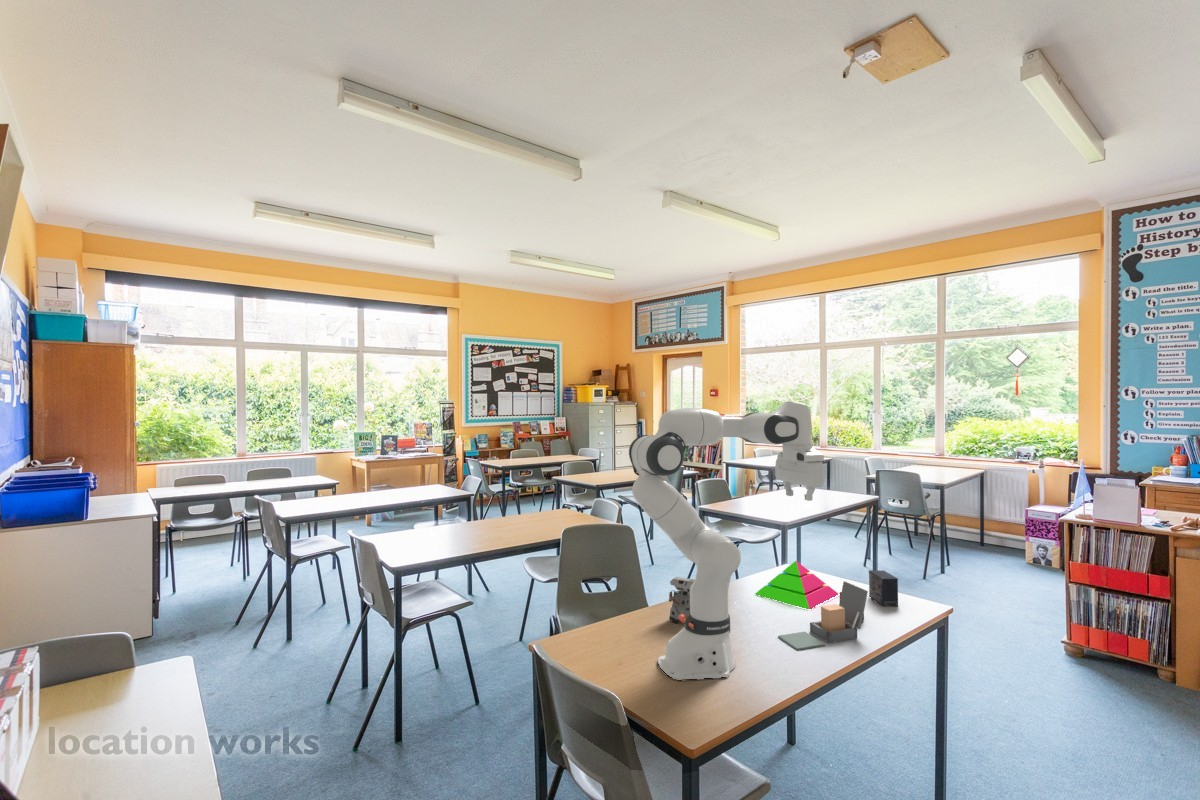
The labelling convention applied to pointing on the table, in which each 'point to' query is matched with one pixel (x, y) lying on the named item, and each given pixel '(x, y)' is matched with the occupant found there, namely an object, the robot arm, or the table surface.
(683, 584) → the figurine
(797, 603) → the pyramid toy
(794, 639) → the rubber mat
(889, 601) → the small box
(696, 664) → the robot arm
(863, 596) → the equipment case
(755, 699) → the table surface
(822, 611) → the block
